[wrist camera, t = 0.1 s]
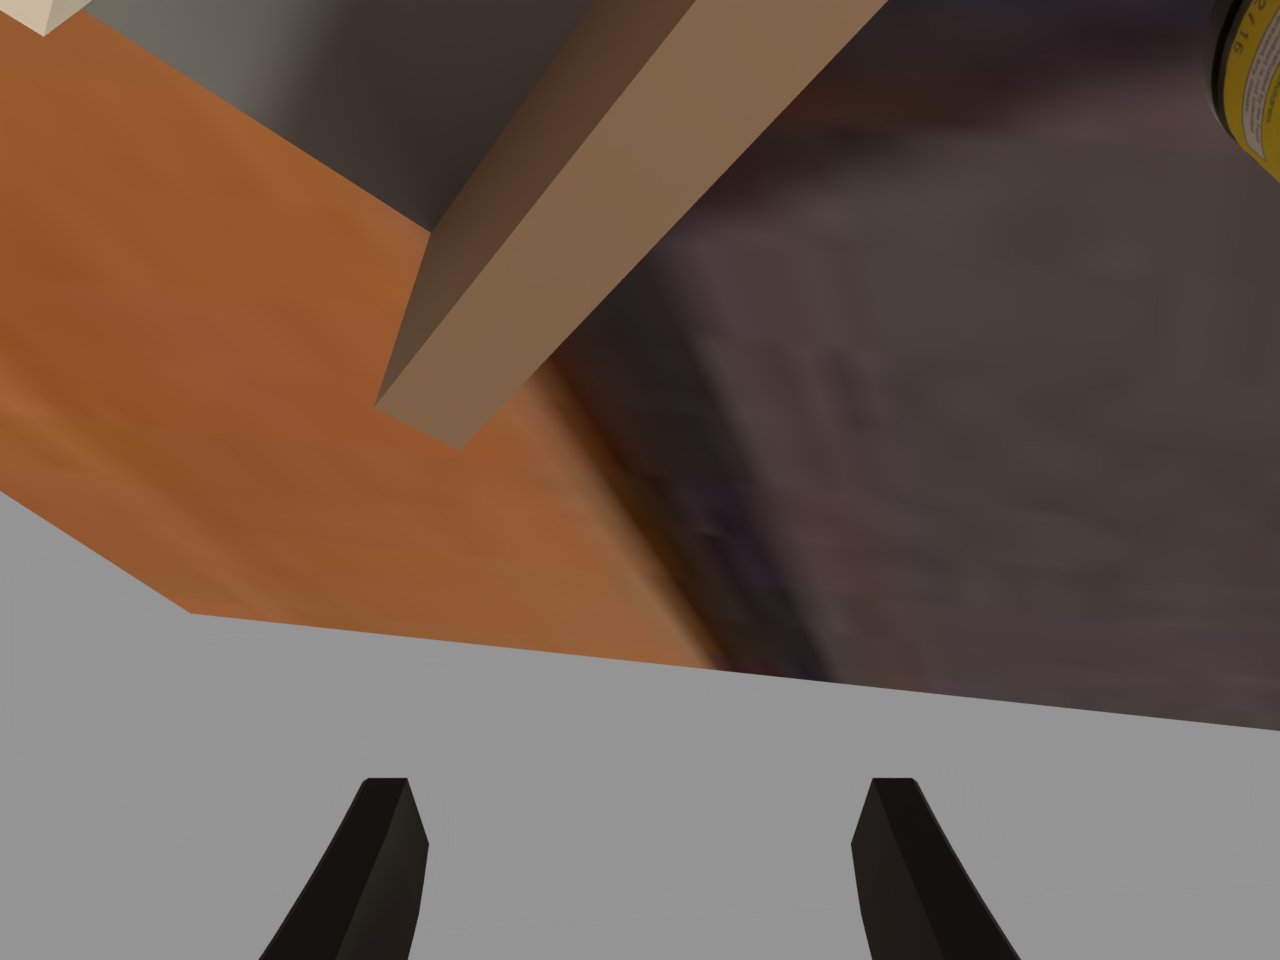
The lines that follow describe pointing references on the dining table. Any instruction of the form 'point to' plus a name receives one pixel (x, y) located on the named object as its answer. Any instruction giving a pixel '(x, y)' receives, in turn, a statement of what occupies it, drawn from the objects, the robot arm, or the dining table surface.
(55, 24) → the square socket base
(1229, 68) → the supplement bottle
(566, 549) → the dining table surface
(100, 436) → the dining table surface
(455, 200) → the l-shaped bracket
